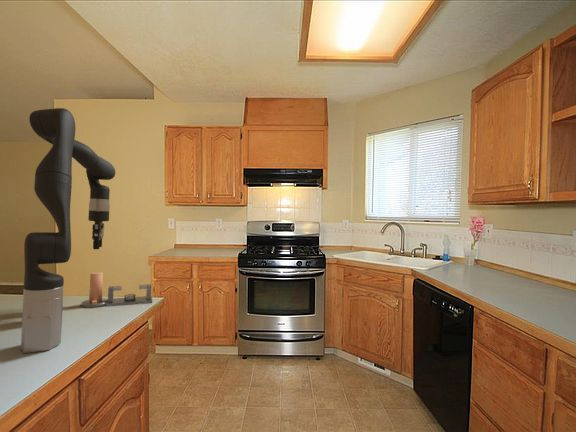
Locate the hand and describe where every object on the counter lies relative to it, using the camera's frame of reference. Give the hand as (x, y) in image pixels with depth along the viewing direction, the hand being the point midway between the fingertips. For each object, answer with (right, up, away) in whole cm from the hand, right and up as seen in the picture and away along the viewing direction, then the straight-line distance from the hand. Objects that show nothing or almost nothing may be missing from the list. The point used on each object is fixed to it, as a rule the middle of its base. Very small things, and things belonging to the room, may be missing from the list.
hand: (97, 248), depth 131 cm
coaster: (-1, -24, 0) cm, 24 cm away
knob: (-1, -23, 0) cm, 23 cm away
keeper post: (+11, -25, +6) cm, 27 cm away
